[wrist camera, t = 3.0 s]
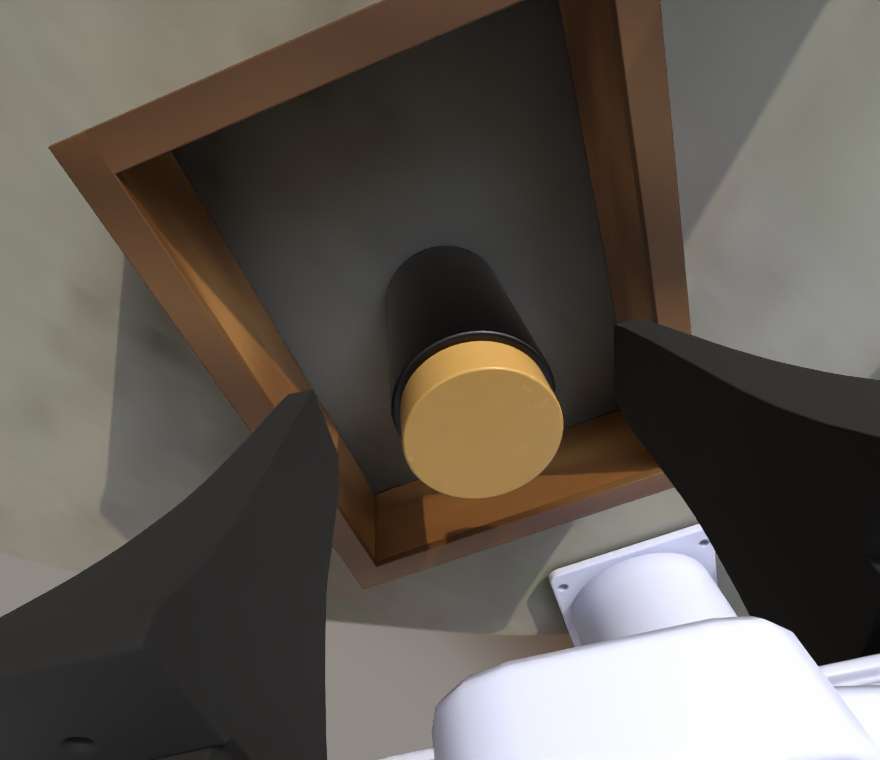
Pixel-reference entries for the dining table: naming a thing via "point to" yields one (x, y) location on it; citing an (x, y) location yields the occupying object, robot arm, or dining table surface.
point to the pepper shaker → (466, 378)
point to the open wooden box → (258, 341)
